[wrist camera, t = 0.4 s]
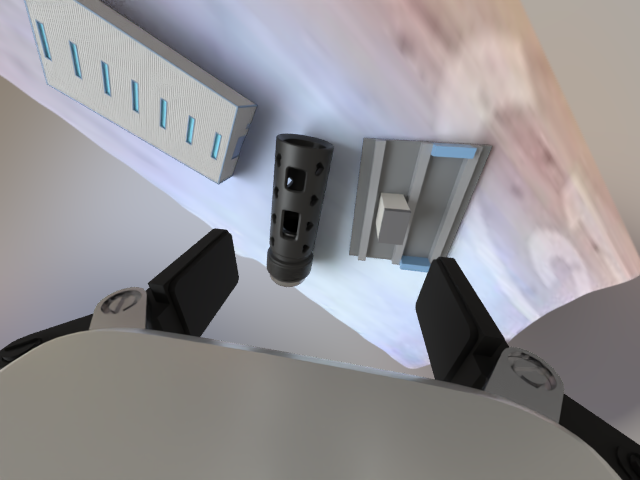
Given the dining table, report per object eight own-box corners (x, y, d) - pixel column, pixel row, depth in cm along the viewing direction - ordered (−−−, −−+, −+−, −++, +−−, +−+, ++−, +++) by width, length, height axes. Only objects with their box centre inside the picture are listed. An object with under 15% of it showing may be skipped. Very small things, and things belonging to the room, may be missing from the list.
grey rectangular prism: (380, 192, 42) (385, 210, 35) (403, 194, 41) (411, 212, 35) (375, 221, 45) (378, 242, 38) (396, 223, 45) (402, 245, 38)
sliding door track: (363, 137, 38) (364, 141, 35) (489, 144, 36) (502, 149, 33) (349, 252, 51) (348, 263, 48) (441, 262, 49) (447, 274, 46)
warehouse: (82, 85, 41) (32, 83, 35) (78, -15, 34) (12, -42, 27) (233, 175, 46) (212, 188, 40) (258, 105, 38) (238, 106, 32)
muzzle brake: (338, 141, 39) (332, 153, 31) (313, 263, 55) (304, 294, 46) (285, 129, 40) (265, 138, 31) (275, 254, 55) (259, 283, 46)
